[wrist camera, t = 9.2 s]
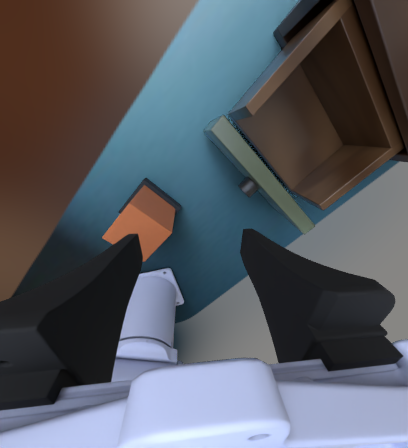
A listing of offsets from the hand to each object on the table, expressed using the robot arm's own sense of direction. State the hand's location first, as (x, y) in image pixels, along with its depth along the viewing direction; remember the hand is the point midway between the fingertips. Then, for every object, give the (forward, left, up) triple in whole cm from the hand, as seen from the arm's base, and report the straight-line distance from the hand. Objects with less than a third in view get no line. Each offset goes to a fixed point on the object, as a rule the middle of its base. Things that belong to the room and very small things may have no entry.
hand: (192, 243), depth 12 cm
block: (-5, 0, -8) cm, 10 cm away
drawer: (+10, +4, -9) cm, 13 cm away
